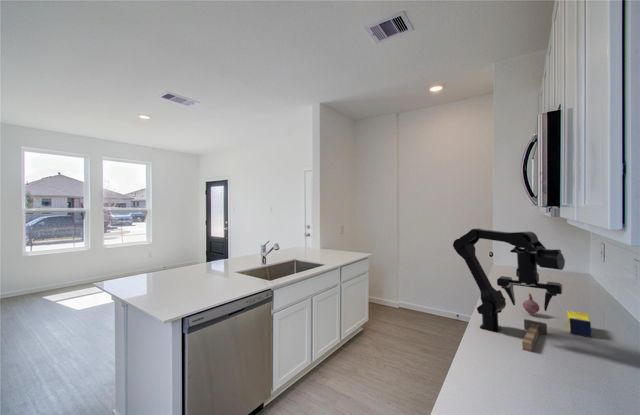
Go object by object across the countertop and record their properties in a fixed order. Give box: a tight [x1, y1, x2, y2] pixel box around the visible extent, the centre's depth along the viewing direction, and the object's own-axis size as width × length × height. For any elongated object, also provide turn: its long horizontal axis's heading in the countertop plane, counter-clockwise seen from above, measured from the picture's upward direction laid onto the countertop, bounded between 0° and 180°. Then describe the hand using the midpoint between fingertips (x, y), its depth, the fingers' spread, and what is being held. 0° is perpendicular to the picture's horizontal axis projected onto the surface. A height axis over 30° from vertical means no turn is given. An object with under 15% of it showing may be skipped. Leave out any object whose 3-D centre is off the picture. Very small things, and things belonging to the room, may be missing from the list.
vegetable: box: [522, 292, 540, 315], centre depth 125 cm, size 6×6×10 cm
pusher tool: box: [521, 318, 548, 353], centre depth 101 cm, size 21×7×4 cm, turn 135°
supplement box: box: [566, 310, 592, 338], centre depth 107 cm, size 6×6×11 cm
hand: (529, 307), depth 99 cm, fingers open, 9 cm apart
